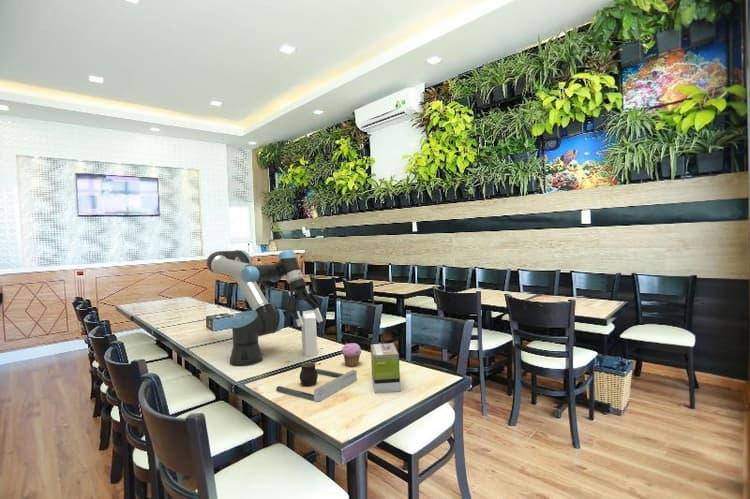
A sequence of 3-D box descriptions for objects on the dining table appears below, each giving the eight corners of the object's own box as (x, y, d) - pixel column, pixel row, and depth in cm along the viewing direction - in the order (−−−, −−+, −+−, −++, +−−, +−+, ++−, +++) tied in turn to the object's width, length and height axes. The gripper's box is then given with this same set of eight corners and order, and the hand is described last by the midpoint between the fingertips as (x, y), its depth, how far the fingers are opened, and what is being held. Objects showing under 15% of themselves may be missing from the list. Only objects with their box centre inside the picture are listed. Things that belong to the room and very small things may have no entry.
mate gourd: (297, 382, 161) (297, 358, 160) (316, 379, 164) (315, 355, 163) (301, 388, 154) (301, 363, 154) (320, 385, 157) (319, 360, 157)
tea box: (371, 379, 162) (370, 343, 162) (395, 377, 163) (394, 342, 163) (374, 393, 147) (373, 354, 147) (400, 392, 148) (399, 353, 148)
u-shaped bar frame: (276, 391, 152) (276, 380, 152) (317, 372, 172) (316, 363, 172) (318, 402, 141) (318, 391, 141) (356, 380, 161) (356, 370, 161)
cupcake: (338, 365, 181) (337, 343, 180) (352, 360, 187) (351, 339, 187) (351, 369, 175) (351, 347, 174) (365, 364, 181) (364, 342, 181)
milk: (302, 353, 201) (300, 310, 200) (313, 351, 204) (312, 309, 203) (305, 356, 195) (304, 312, 195) (317, 354, 198) (315, 310, 197)
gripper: (282, 279, 173) (297, 324, 168) (318, 276, 194) (333, 317, 189) (271, 286, 177) (285, 330, 171) (308, 283, 198) (322, 322, 193)
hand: (310, 323), depth 180 cm, fingers open, 13 cm apart
